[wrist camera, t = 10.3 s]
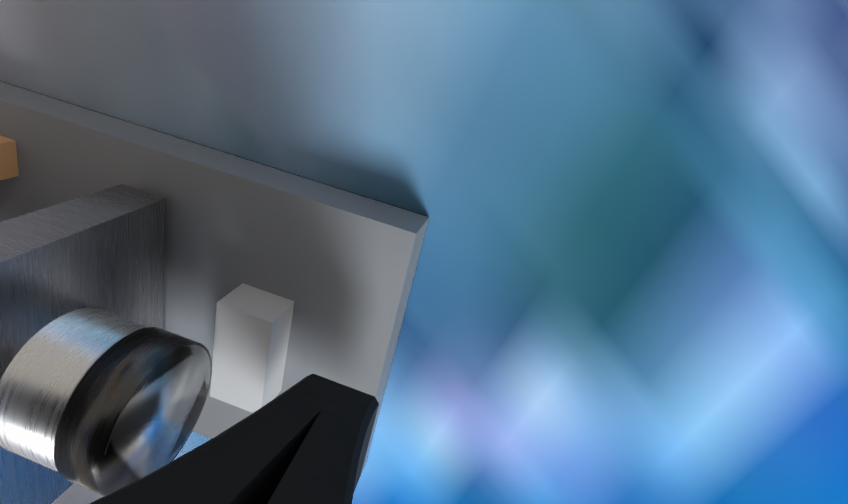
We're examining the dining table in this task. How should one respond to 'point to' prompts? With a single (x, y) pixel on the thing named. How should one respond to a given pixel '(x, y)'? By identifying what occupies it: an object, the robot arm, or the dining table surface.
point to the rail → (236, 252)
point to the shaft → (90, 349)
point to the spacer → (8, 158)
